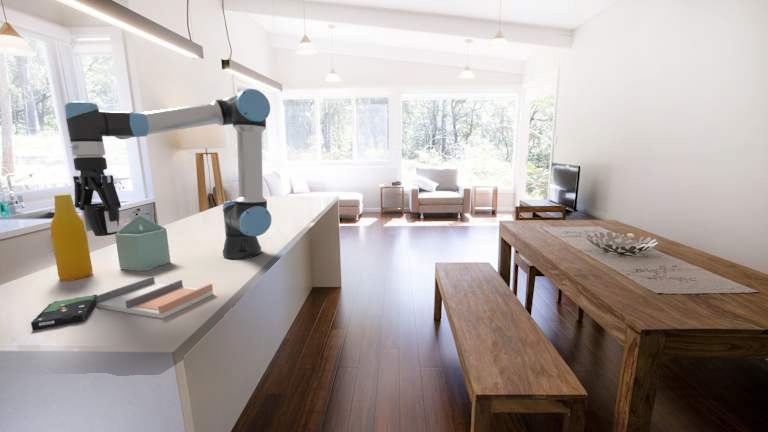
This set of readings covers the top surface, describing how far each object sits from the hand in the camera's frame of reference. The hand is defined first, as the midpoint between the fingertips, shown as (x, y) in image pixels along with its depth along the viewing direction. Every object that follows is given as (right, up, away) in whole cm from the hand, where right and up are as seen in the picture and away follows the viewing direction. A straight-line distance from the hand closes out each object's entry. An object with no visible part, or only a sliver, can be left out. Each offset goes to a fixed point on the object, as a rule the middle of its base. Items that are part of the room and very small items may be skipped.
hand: (101, 231), depth 111 cm
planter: (-4, -15, +25) cm, 30 cm away
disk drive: (+2, -22, -14) cm, 27 cm away
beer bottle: (-22, -17, +17) cm, 33 cm away
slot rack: (+21, -20, -6) cm, 29 cm away
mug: (+1, -1, 0) cm, 2 cm away
